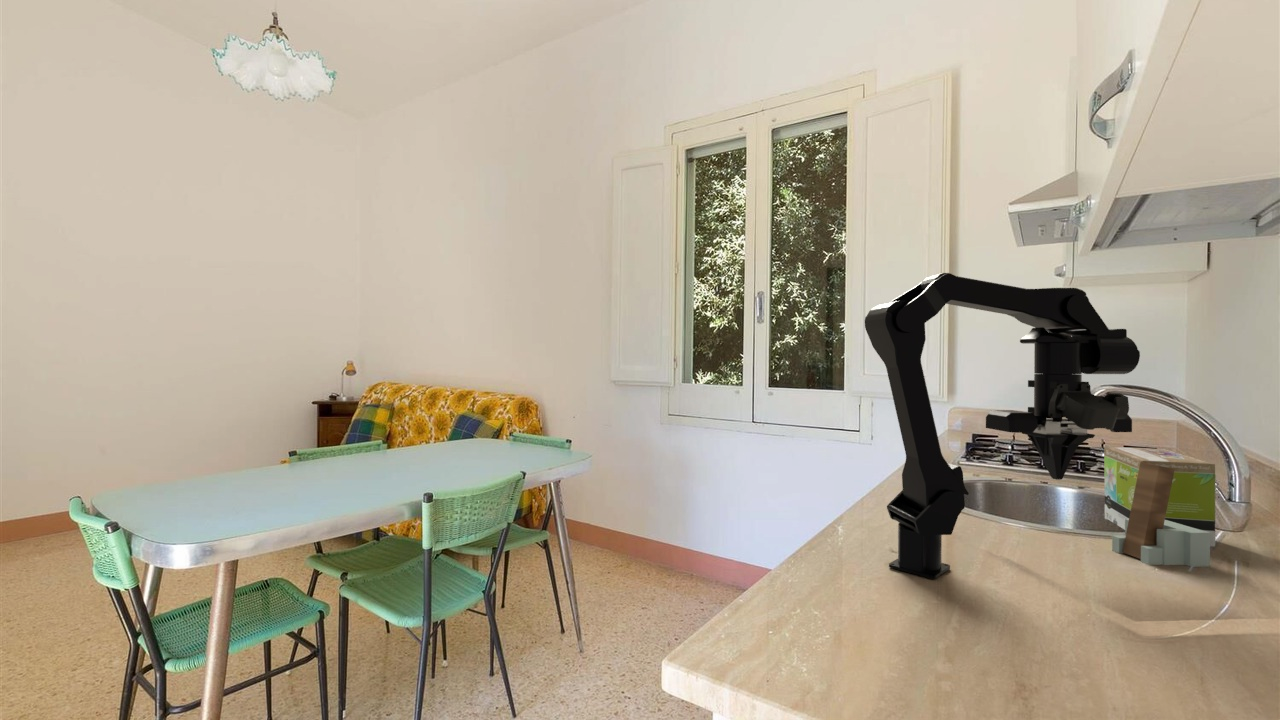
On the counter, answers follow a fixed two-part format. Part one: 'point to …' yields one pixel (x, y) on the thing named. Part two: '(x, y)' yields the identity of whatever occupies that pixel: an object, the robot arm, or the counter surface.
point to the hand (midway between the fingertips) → (1056, 479)
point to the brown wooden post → (1148, 507)
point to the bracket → (1173, 546)
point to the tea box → (1188, 489)
